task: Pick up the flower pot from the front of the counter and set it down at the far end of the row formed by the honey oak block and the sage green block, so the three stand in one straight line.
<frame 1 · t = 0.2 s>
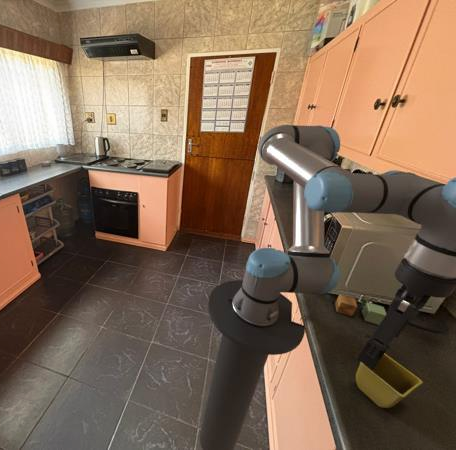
hand: (378, 347, 53), 18 cm above the countertop, tool pointing down, fingers open, 13 cm apart
flower pot: (374, 393, 62), on the countertop
green block: (371, 318, 84), on the countertop
oak block: (343, 309, 87), on the countertop
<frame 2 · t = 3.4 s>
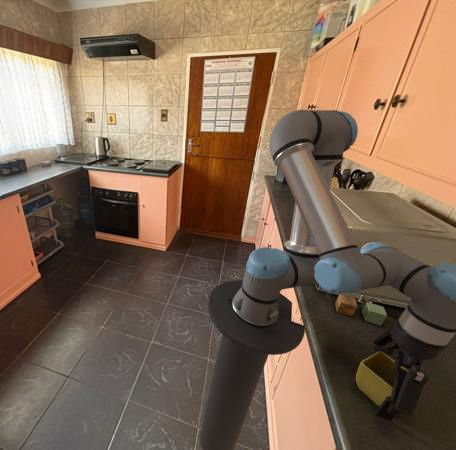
hand: (376, 392, 62), 1 cm above the countertop, tool pointing down, fingers closed on flower pot, 11 cm apart
flower pot: (374, 393, 62), on the countertop, touching gripper
everything else where it was.
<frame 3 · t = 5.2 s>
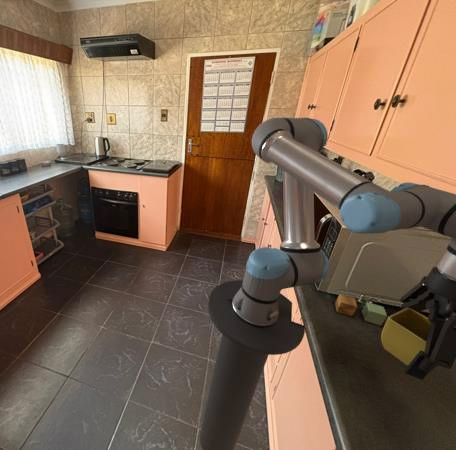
hand: (403, 351, 56), 15 cm above the countertop, tool pointing down, fingers closed on flower pot, 11 cm apart
flower pot: (401, 354, 56), point 14 cm above the countertop, touching gripper
everything else where it was.
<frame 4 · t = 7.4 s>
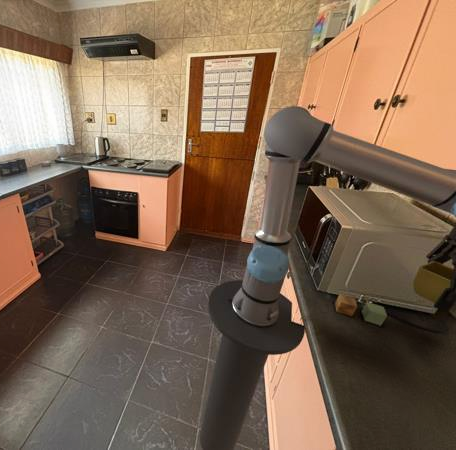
hand: (431, 294, 71), 16 cm above the countertop, tool pointing down, fingers closed on flower pot, 11 cm apart
flower pot: (429, 297, 72), point 15 cm above the countertop, touching gripper
everything else where it was.
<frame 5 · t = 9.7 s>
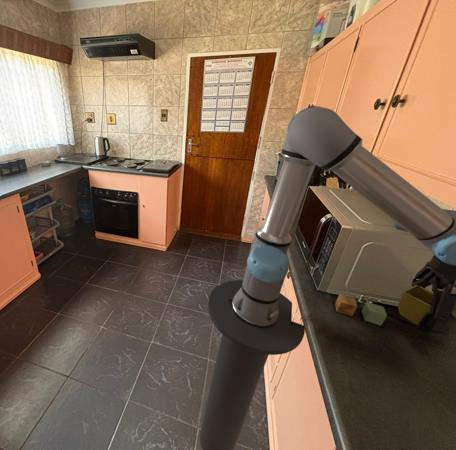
hand: (414, 316, 78), 6 cm above the countertop, tool pointing down, fingers closed on flower pot, 11 cm apart
flower pot: (412, 318, 78), point 5 cm above the countertop, touching gripper
everything else where it was.
when the fingers open (1 cm above the countertop, at t = 11.6 s): flower pot stays where it is, on the countertop.
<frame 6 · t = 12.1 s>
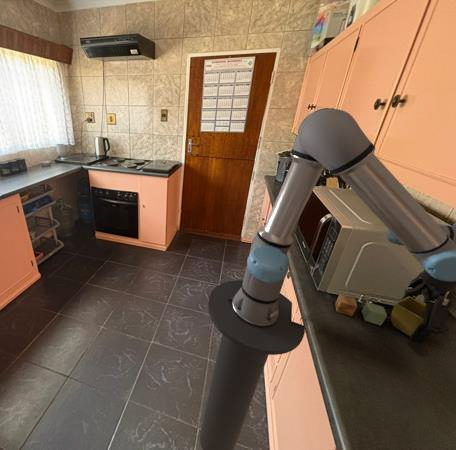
hand: (407, 324, 80), 2 cm above the countertop, tool pointing down, fingers open, 13 cm apart
flower pot: (405, 329, 80), on the countertop
everything else where it was.
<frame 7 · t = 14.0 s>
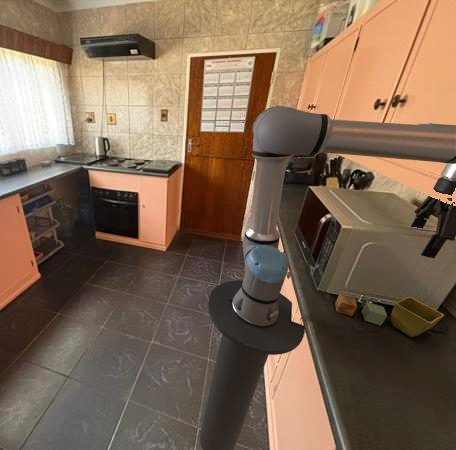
hand: (418, 245, 77), 26 cm above the countertop, tool pointing down, fingers open, 13 cm apart
nothing on the countertop moved.
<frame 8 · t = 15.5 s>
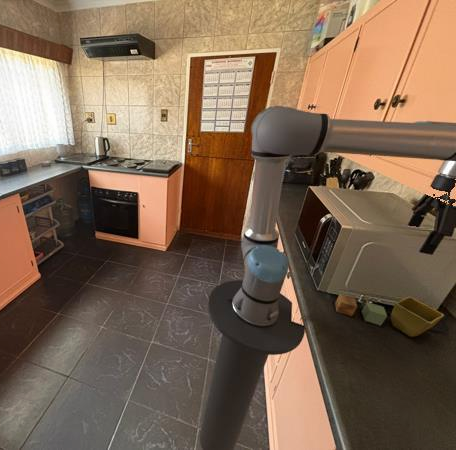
hand: (416, 242, 77), 27 cm above the countertop, tool pointing down, fingers open, 13 cm apart
nothing on the countertop moved.
at the end: flower pot 0.1 cm from the target spot on the countertop beside the green block, on the countertop; flower pot tilted 0°; green block moved 0.0 cm from its start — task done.
